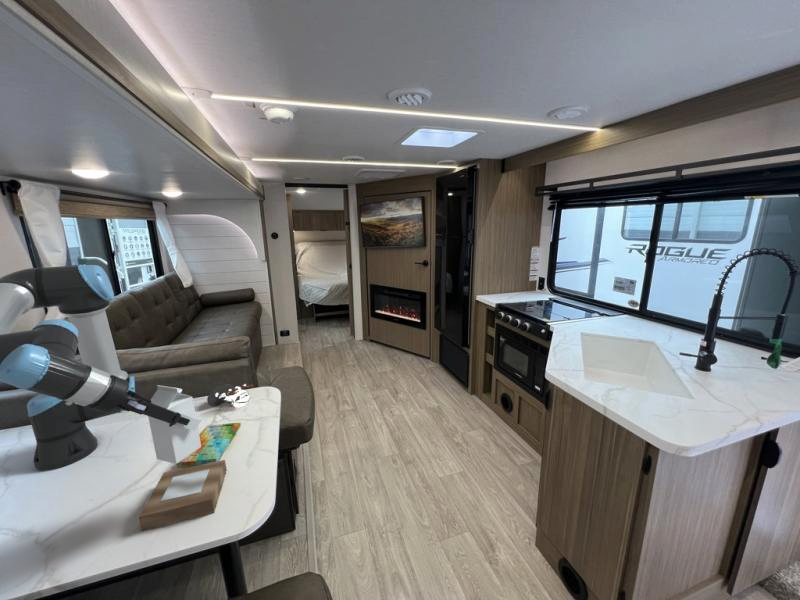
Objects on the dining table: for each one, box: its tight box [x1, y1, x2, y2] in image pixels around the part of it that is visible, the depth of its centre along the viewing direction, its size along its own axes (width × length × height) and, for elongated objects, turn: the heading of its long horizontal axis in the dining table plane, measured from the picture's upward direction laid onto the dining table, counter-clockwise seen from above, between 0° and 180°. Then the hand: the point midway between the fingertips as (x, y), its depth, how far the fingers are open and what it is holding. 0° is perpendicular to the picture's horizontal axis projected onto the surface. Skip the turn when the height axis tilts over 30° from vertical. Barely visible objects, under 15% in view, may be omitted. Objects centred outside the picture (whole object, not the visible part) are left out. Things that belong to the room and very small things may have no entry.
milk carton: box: [147, 385, 201, 465], centre depth 84 cm, size 7×7×19 cm
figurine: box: [206, 383, 255, 408], centre depth 139 cm, size 14×10×18 cm
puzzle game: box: [175, 422, 242, 469], centre depth 109 cm, size 12×5×20 cm
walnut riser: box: [137, 459, 228, 532], centre depth 89 cm, size 16×16×4 cm
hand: (188, 420), depth 87 cm, fingers closed on milk carton, 8 cm apart
